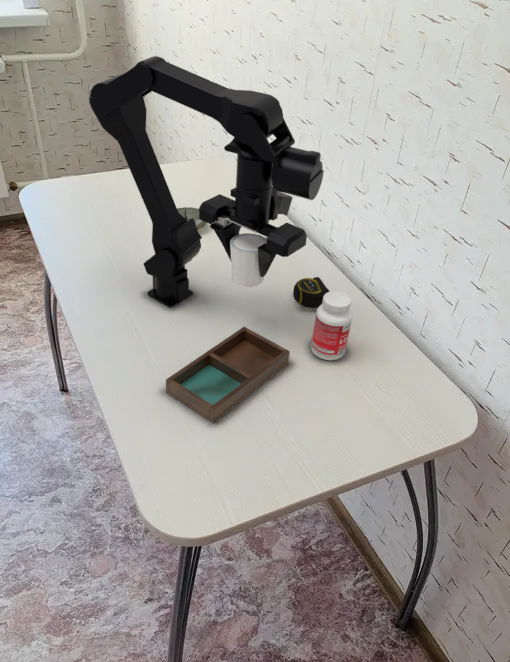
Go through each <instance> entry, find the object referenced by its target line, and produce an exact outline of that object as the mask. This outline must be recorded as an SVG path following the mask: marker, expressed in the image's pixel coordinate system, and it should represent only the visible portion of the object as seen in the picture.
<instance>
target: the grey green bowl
mask: <svg viewBox="0 0 510 662" xmlns="http://www.w3.org/2000/svg"><path fill="white" fill-rule="evenodd" d="M176 208H177V210H178V212H179V213H180V214H181V215H182V216H183V217H184V218H185V219H187V220H188V219H191V218H193V219H194V221H195V223H196V227H197V230H198V231H199V230H200V229H202V228H204V227H205V226H206V225H207V224H208V223H207V222H205V221H202V220H200V219H199V208H198V207H191V206H190V207H188V206H187V207H185V206H184V207H176Z"/></svg>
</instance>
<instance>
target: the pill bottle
mask: <svg viewBox="0 0 510 662" xmlns="http://www.w3.org/2000/svg"><path fill="white" fill-rule="evenodd" d="M351 307H352V297H350V295H348V293H347V294H346V293H345V292H343V291H339V290H331V291H330V292H328V293H326V294H325V295H324V297H323V301H322V304H321V305H320V306H319V307H318V308H316V311H315V318H314V325H313V330H312V337H311V341H310V342H311V343H310V349H311V352H312V353H313V355H315V356H316V357H318V358H319V359H322V360H325V361H337V360H339V359H341V358H342V357H343V356H344V355H345V353H346V350H347V344H348V341H349V337H350V331H351V326H352V321H353V312H352V311H353V310H351Z"/></svg>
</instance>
